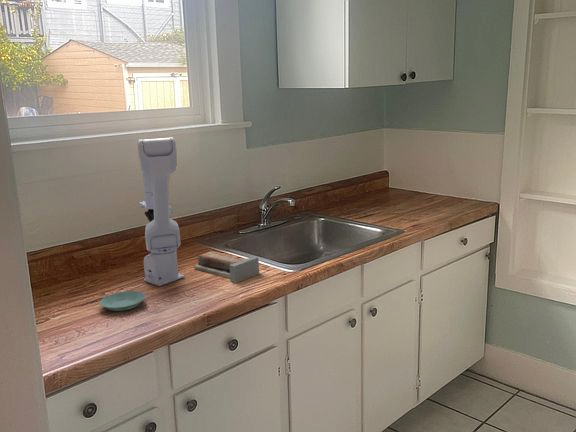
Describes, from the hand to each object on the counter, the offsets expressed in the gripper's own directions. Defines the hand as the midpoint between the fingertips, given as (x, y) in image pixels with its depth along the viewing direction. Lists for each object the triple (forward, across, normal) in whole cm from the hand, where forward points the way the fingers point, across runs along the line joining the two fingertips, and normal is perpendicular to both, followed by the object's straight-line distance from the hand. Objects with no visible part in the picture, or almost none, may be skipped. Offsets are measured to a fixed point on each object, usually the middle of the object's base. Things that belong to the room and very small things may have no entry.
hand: (157, 232), depth 188 cm
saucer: (+11, -22, +28) cm, 37 cm away
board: (+10, -32, -7) cm, 35 cm away
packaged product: (+11, -22, -8) cm, 26 cm away
